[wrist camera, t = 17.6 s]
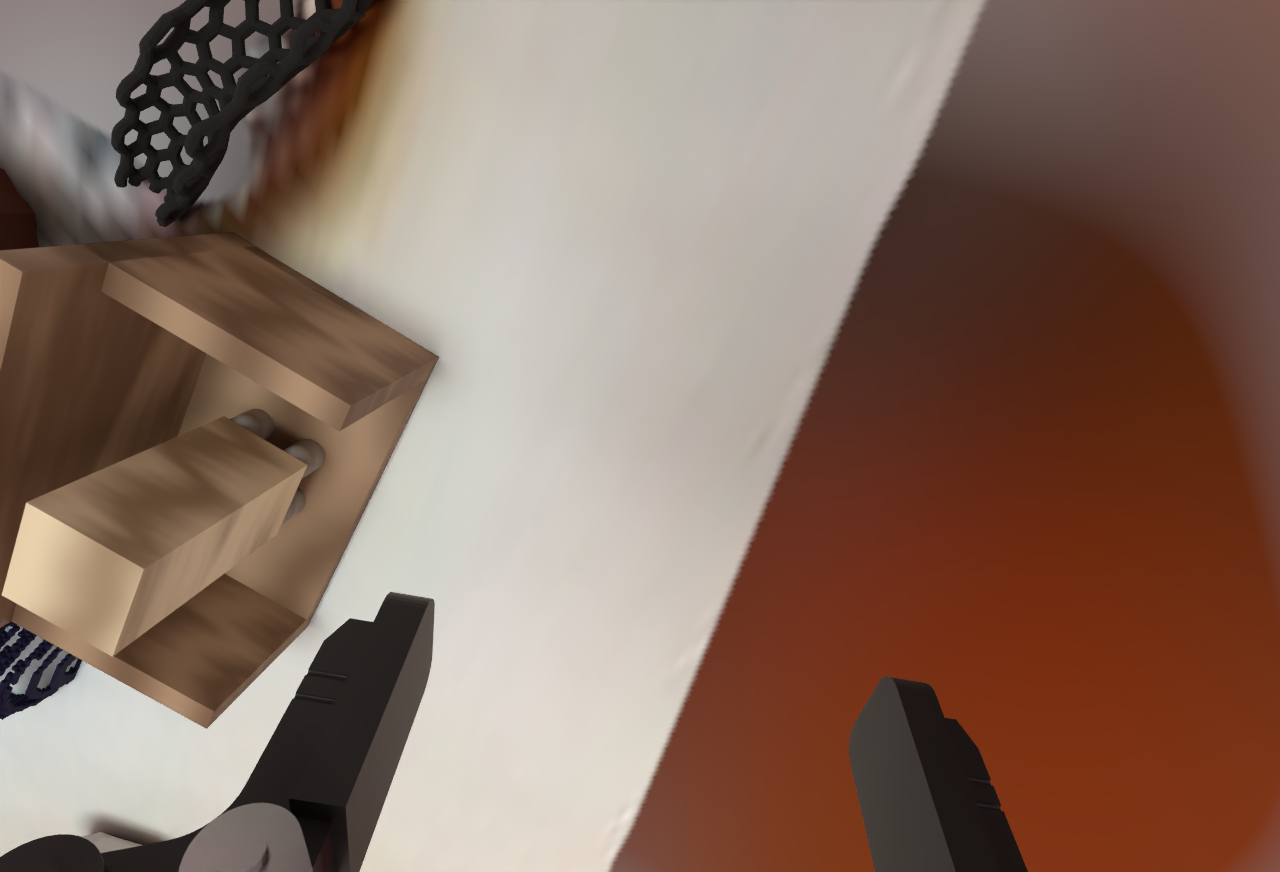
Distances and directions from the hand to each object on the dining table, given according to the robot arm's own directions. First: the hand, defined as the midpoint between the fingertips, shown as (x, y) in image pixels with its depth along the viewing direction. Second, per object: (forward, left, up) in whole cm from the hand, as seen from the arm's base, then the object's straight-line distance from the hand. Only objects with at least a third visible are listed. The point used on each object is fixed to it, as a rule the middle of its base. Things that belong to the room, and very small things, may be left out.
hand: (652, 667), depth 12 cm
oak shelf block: (+8, -27, -25) cm, 37 cm away
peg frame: (+8, -27, -28) cm, 40 cm away
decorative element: (-14, -23, -29) cm, 40 cm away
